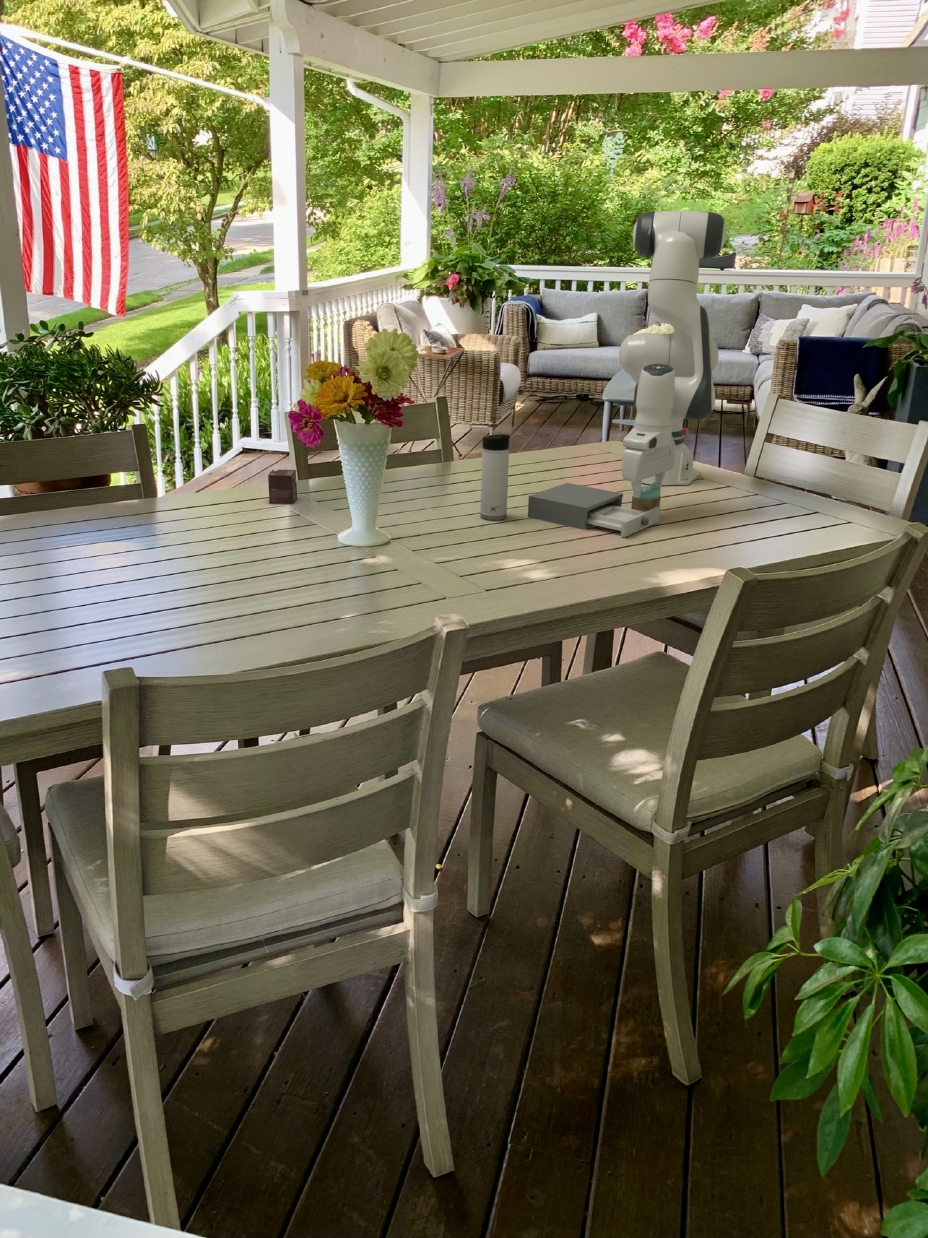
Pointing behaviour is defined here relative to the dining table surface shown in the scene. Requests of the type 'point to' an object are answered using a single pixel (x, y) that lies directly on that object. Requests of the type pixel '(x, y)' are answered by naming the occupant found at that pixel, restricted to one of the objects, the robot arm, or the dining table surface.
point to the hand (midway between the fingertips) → (647, 493)
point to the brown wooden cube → (644, 504)
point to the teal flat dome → (650, 493)
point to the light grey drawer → (623, 518)
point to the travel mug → (494, 477)
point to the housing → (570, 504)
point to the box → (282, 486)
